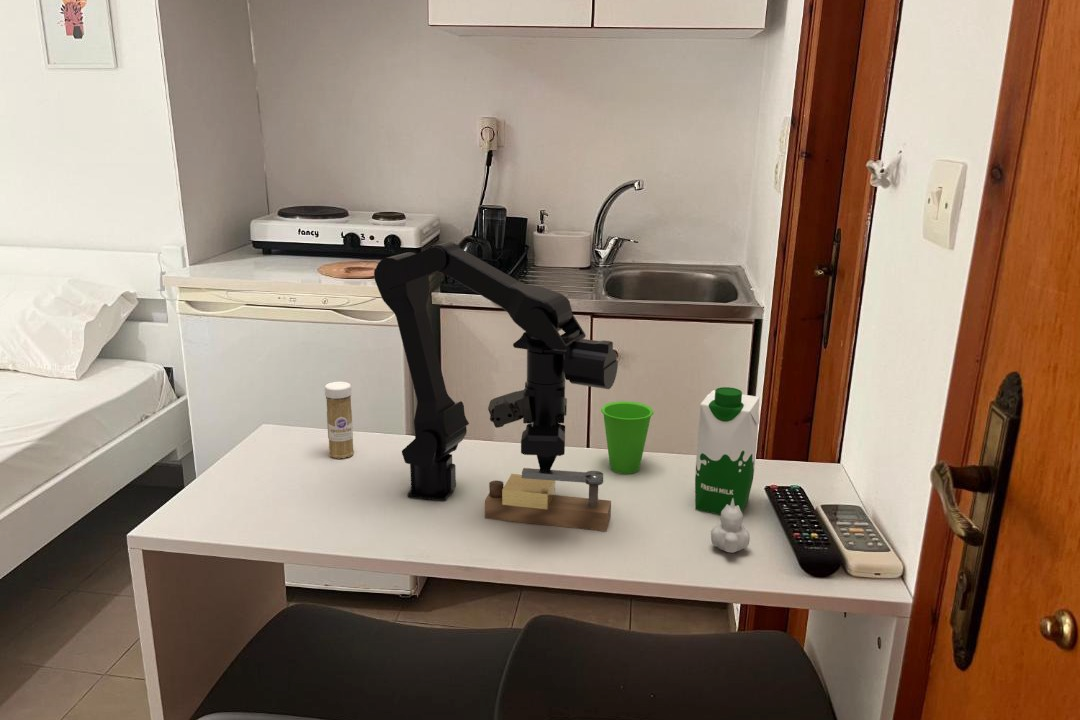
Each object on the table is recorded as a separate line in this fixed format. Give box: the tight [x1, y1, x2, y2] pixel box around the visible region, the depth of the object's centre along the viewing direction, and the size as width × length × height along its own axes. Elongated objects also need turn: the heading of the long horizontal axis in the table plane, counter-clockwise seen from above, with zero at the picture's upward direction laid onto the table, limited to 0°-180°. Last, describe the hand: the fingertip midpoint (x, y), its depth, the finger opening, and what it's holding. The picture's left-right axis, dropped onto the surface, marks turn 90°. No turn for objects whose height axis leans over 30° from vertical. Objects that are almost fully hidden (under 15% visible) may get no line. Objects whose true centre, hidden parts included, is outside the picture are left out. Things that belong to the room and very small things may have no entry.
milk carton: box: [694, 386, 760, 516], centre depth 134 cm, size 9×9×20 cm
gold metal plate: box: [502, 473, 556, 509], centre depth 131 cm, size 7×6×2 cm
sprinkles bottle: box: [324, 381, 355, 459], centre depth 153 cm, size 5×5×14 cm
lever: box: [521, 467, 604, 486], centre depth 129 cm, size 12×3×1 cm, turn 82°
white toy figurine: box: [710, 499, 751, 553], centre depth 121 cm, size 5×7×8 cm
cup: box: [600, 400, 654, 475], centre depth 149 cm, size 9×9×11 cm
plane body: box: [484, 480, 612, 532], centre depth 131 cm, size 19×4×7 cm, turn 78°
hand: (544, 474), depth 131 cm, fingers closed
